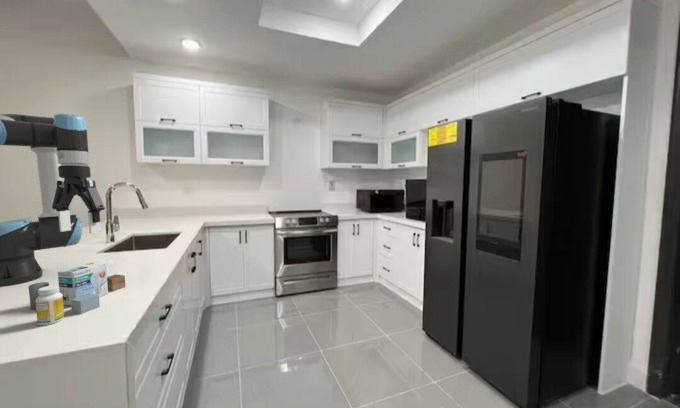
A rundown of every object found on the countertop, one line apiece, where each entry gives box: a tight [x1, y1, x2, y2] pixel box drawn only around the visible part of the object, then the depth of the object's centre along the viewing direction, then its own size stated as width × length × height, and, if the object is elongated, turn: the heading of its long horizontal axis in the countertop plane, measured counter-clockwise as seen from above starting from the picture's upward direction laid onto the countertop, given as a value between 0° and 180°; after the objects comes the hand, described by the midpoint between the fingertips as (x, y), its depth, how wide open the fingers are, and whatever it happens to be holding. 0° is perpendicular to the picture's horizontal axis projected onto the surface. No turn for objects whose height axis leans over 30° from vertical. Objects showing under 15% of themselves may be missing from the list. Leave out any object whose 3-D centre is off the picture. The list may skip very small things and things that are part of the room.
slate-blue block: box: [70, 293, 101, 315], centre depth 89 cm, size 4×5×4 cm
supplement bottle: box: [35, 284, 65, 326], centre depth 82 cm, size 5×5×10 cm
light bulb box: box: [57, 262, 109, 307], centre depth 97 cm, size 11×7×11 cm, turn 168°
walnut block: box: [107, 274, 126, 292], centre depth 106 cm, size 4×4×4 cm
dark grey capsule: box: [27, 281, 50, 311], centre depth 92 cm, size 4×4×7 cm
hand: (80, 231), depth 95 cm, fingers open, 13 cm apart
